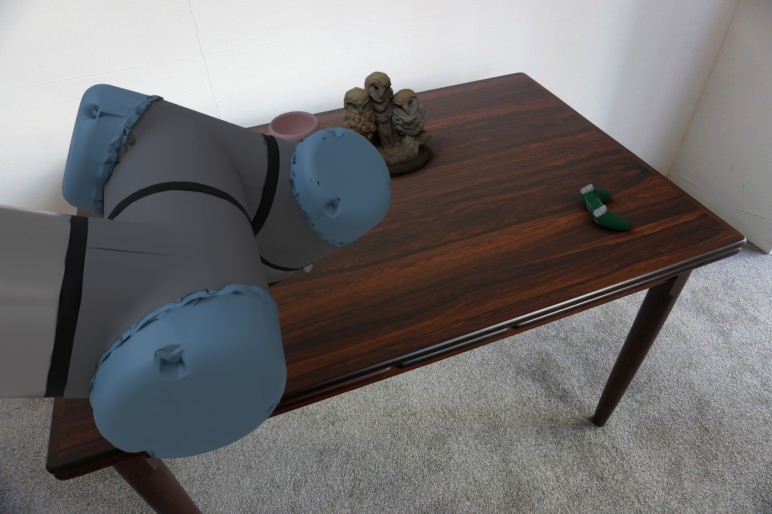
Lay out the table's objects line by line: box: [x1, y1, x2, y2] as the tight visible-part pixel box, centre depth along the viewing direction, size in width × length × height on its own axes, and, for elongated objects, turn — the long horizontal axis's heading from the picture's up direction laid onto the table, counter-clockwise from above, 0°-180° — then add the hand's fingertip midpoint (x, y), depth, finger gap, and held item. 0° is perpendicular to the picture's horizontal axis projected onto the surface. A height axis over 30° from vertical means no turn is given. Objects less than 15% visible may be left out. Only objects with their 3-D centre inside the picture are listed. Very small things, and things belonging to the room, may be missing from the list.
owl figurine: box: [341, 71, 433, 178], centre depth 94 cm, size 18×12×17 cm, turn 103°
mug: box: [265, 110, 322, 144], centre depth 101 cm, size 12×10×6 cm
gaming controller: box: [579, 183, 631, 231], centre depth 85 cm, size 9×4×6 cm
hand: (187, 297), depth 62 cm, fingers open, 13 cm apart
